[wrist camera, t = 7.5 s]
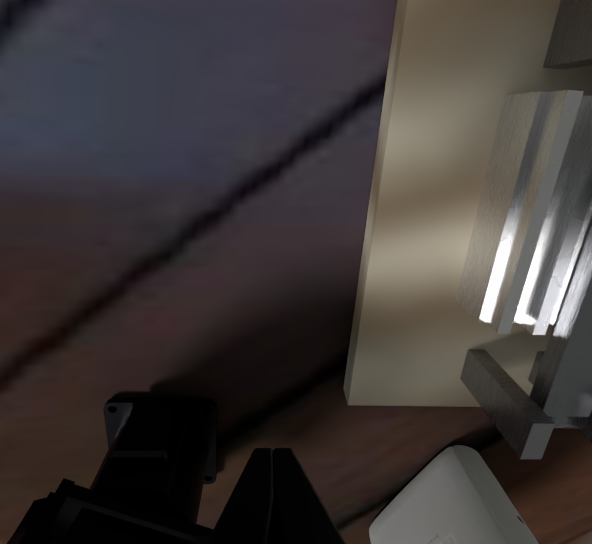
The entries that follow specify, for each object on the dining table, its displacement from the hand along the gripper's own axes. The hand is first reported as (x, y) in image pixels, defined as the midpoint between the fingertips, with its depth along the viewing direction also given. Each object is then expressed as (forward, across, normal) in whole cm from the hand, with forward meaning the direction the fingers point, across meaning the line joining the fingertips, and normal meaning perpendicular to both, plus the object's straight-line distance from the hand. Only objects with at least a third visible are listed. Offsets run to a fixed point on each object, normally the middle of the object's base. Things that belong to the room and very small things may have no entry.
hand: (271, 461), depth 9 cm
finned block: (+12, -14, -4) cm, 19 cm away
